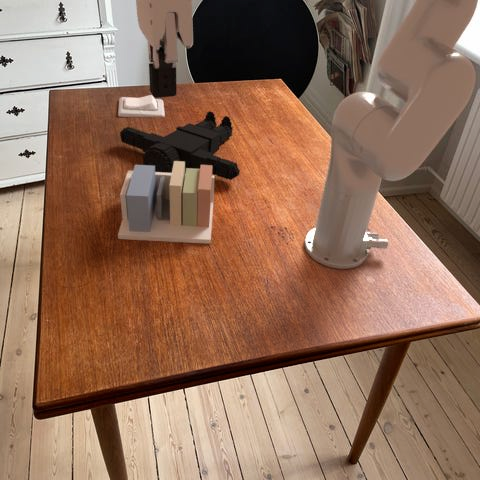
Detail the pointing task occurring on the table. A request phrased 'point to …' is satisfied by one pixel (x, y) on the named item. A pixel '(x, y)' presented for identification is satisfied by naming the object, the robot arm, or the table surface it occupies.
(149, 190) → the grey block
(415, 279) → the table surface
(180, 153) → the toy
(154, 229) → the shelf
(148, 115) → the light switch
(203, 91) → the table surface
